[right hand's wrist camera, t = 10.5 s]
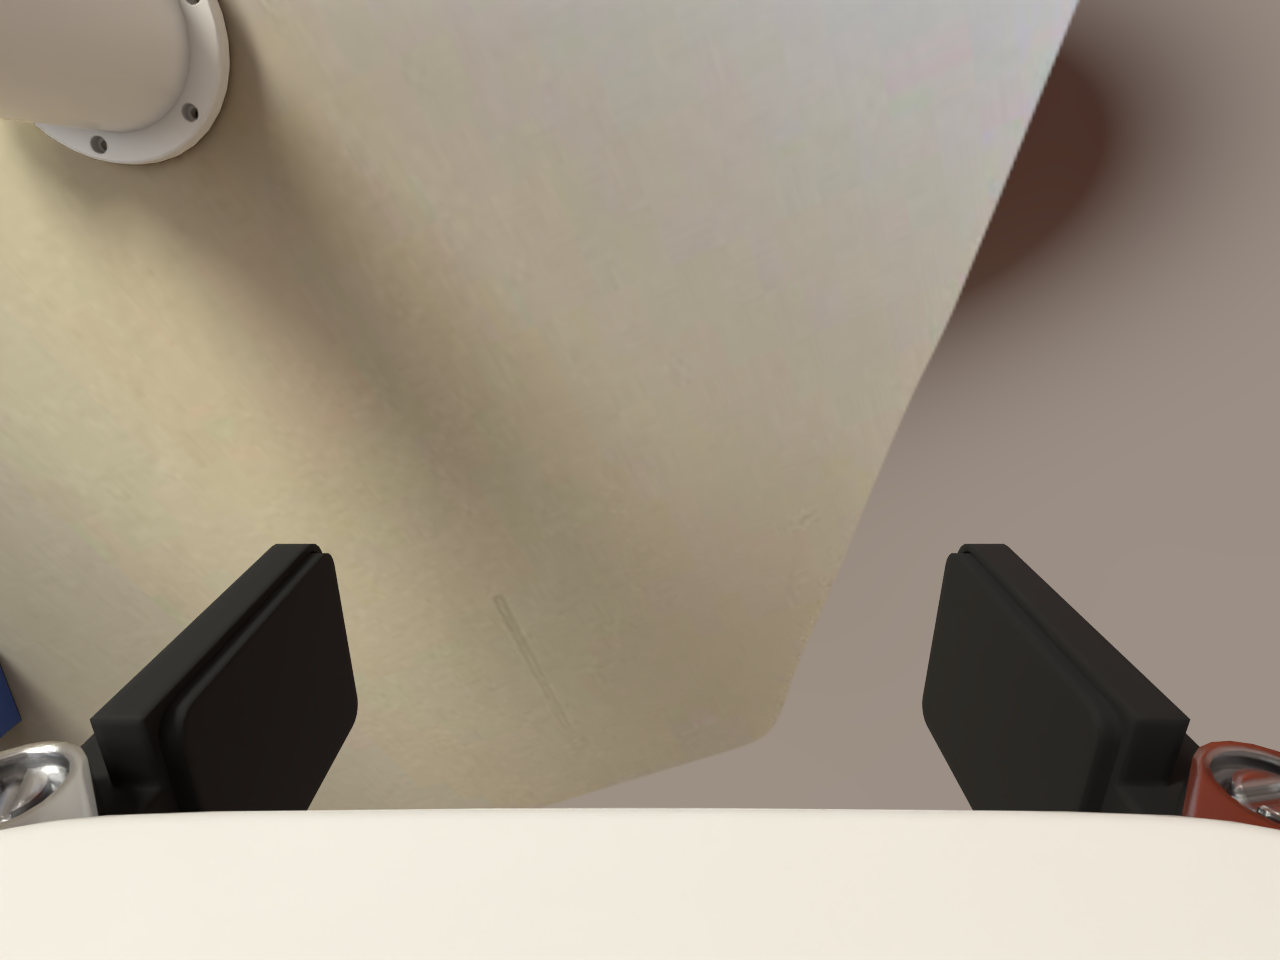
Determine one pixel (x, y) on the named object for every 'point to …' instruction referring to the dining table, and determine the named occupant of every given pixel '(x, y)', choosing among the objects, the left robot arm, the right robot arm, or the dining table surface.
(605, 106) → the dining table surface
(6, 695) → the brick
